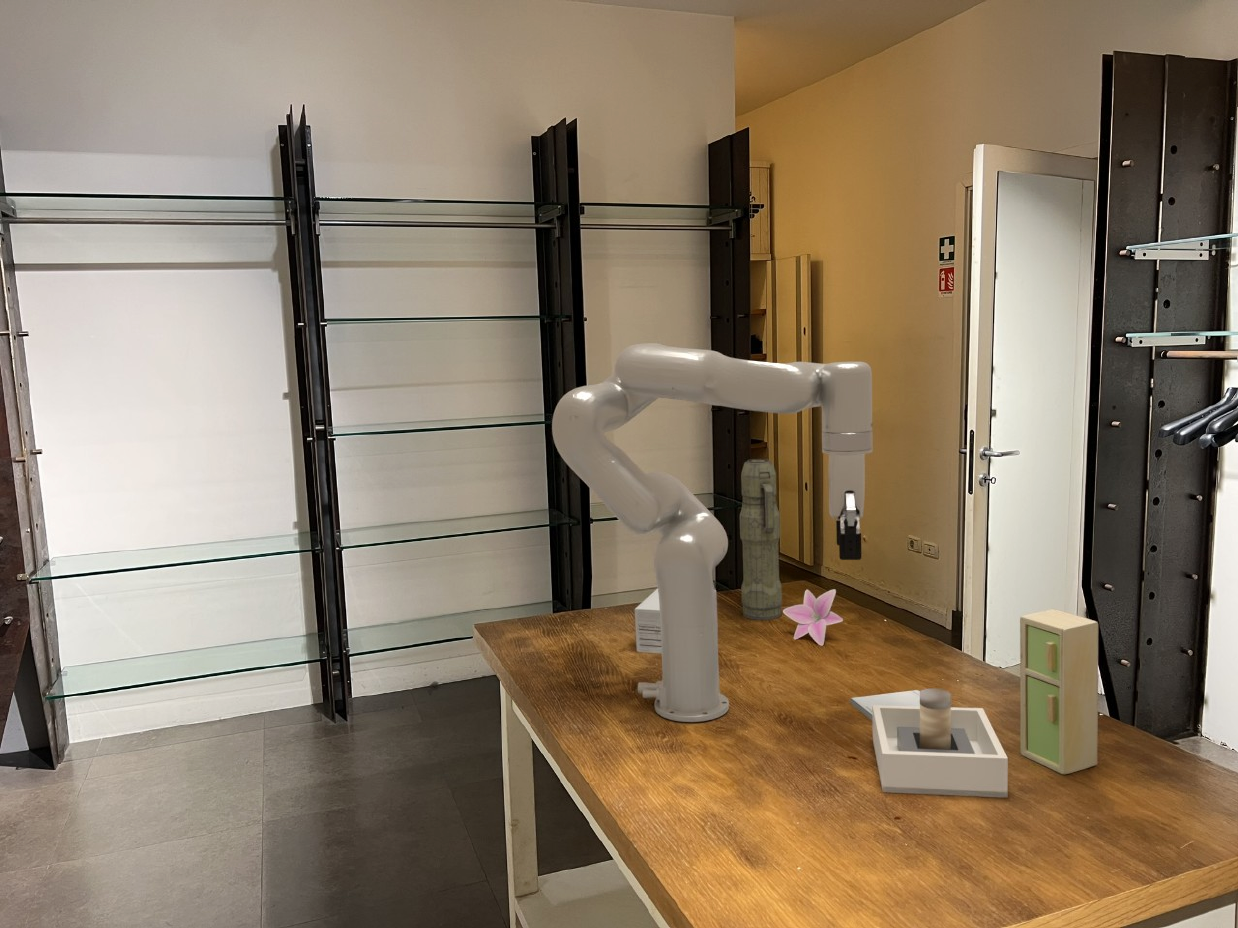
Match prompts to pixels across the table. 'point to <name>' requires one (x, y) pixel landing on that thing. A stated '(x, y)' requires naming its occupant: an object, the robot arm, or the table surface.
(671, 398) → the robot arm
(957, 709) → the walled box
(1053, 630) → the toy refrigerator
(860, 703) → the hard drive
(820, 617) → the lily
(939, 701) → the peg
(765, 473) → the thermos
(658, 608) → the supplement box
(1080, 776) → the table surface
